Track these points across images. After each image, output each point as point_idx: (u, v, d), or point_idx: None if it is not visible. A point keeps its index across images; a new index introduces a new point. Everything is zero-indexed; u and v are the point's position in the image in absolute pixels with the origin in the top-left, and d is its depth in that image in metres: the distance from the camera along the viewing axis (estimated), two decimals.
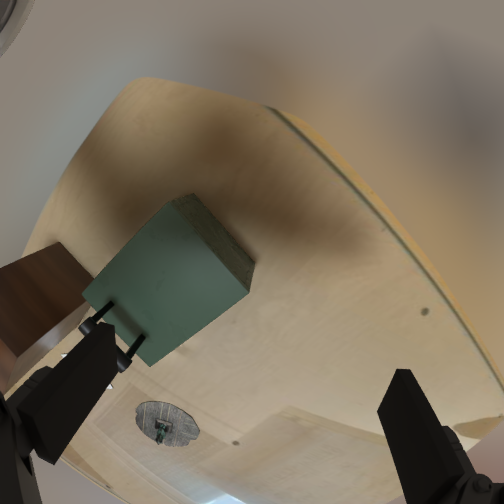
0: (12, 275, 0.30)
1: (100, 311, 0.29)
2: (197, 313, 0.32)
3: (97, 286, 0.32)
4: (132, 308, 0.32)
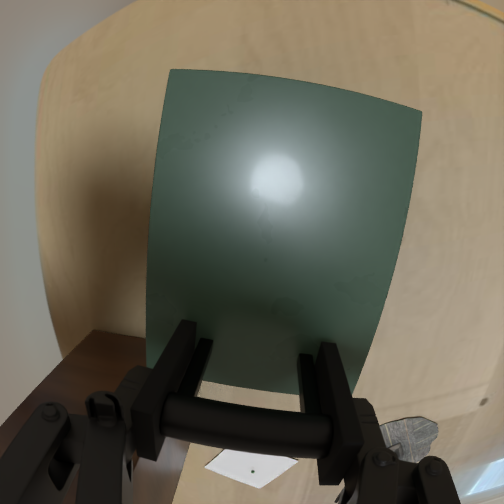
0: None
1: (191, 368, 0.13)
2: (374, 223, 0.13)
3: (160, 332, 0.15)
4: (249, 319, 0.15)
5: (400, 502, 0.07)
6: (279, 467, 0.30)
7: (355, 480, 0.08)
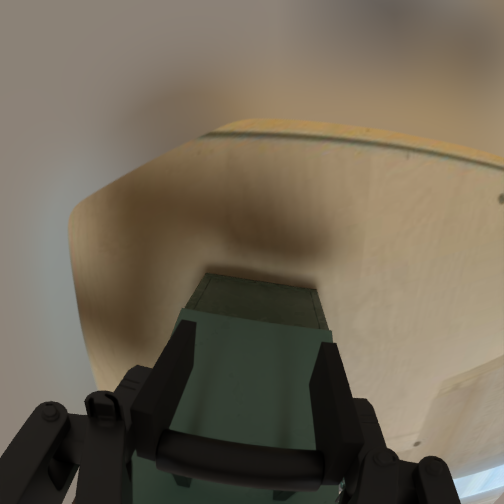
0: None
1: None
2: None
3: (140, 468, 0.13)
4: None
5: (400, 503, 0.07)
6: None
7: (355, 480, 0.08)
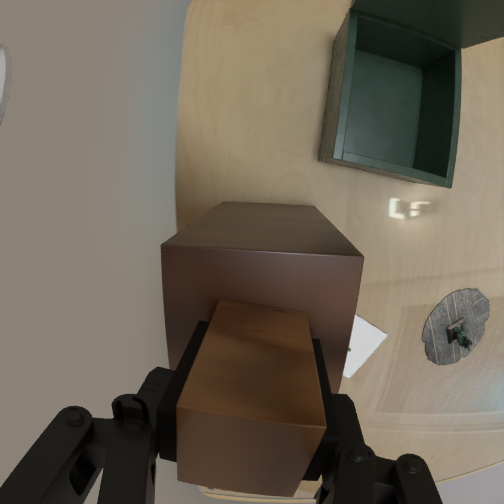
0: (219, 220, 0.23)
1: None
2: None
3: None
4: None
5: (378, 500, 0.07)
6: (371, 344, 0.38)
7: (332, 477, 0.08)
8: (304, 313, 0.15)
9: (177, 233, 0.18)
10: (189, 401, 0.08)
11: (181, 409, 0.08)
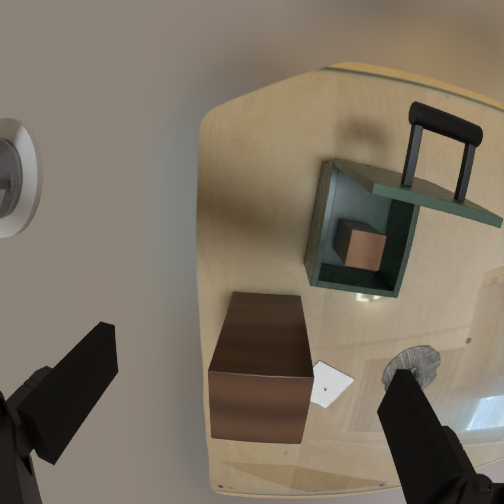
0: (235, 332, 0.36)
1: None
2: (437, 186, 0.27)
3: (375, 178, 0.21)
4: (418, 186, 0.22)
5: None
6: (341, 385, 0.51)
7: None
8: (367, 224, 0.42)
9: (213, 355, 0.31)
10: (354, 229, 0.35)
11: (353, 230, 0.35)
